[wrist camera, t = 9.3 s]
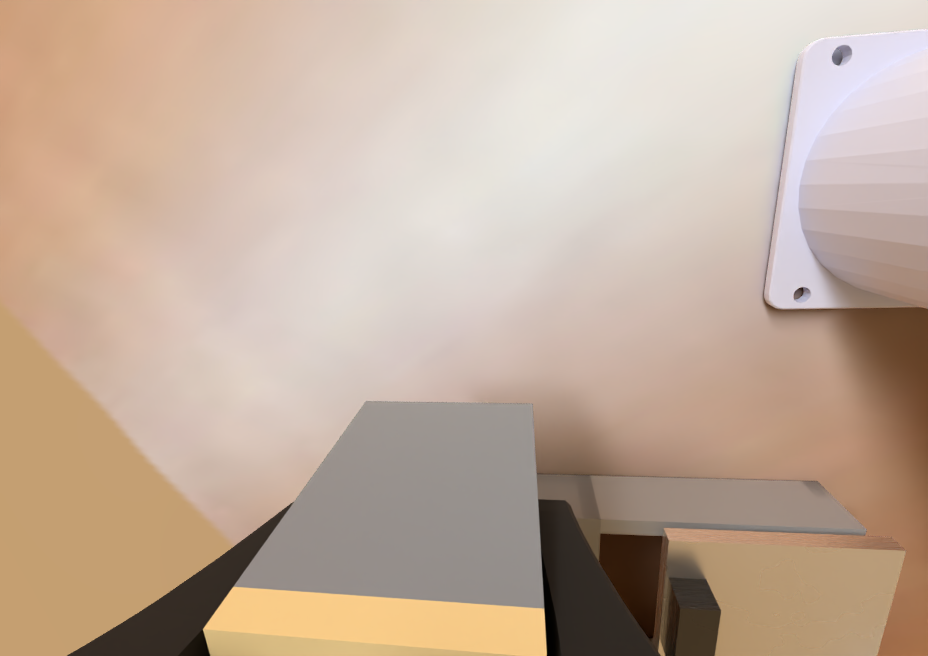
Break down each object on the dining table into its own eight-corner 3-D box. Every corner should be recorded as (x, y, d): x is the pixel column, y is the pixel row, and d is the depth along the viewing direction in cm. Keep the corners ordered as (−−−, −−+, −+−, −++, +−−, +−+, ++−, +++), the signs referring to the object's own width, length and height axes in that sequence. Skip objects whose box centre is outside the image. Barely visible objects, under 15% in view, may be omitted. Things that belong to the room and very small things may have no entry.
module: (532, 403, 11) (547, 658, 5) (532, 544, 12) (543, 882, 6) (365, 401, 11) (203, 629, 5) (381, 536, 12) (261, 841, 7)
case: (817, 481, 17) (867, 529, 15) (782, 657, 20) (819, 723, 18) (421, 470, 19) (407, 511, 17) (435, 632, 22) (424, 689, 20)
